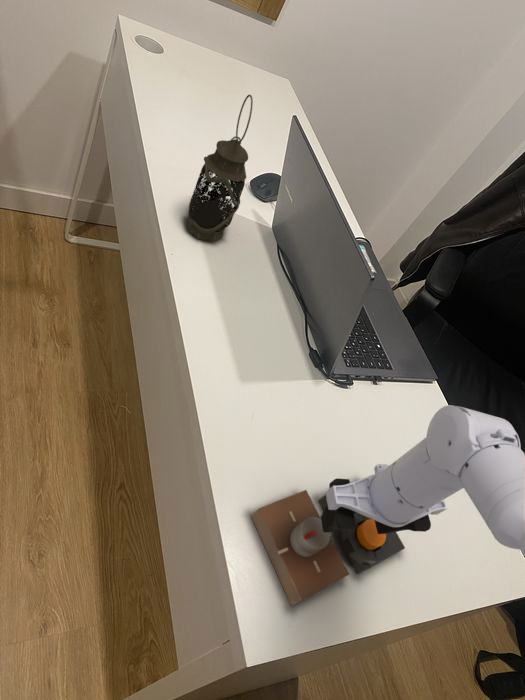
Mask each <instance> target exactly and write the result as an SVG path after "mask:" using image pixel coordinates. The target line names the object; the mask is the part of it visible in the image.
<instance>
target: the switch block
mask: <svg viewBox="0 0 525 700" xmlns="http://www.w3.org/2000/svg"><path fill="white" fill-rule="evenodd" d="M326 498H327V497H326V494H324V495H323V496H322V497H321V498H320V499H318V502H319V504H320V506H321V508H322V510H323V511H324V510H325V508H326V505H327V499H326ZM354 517H355V522H356V527H357V528H358V526H359V525H360V524H362V523H363V522H365V521H366V520H369V519H371V518H369V517H366V516H364V515H362V514H359V513H357V512H356V513H355V514H354ZM356 531H357V529H339V530H337V531H334V533H335V535H336V537H337V539H338V540H339V542H340V545H341V546H342V548H343V550H344V552H345V554H346V556H347V558H348V559H349V562H350V563H351V565H352V567H353V569H354V571H355V573H356V575H360V574H362V573H363V572H366V571H368V570H369V569H370V568H372V567H375V566H377V564H380V563H382V562H383V561H385V560H387V559H389V558H390V557H392V556H394V555H396V554H398V553H400V552H402V551H403V550H405V549H406V547H405V545H404V543H403V541H402V540H401V538H400V536H399V534H398V533H397V532H393V533H388V534H386V540H385V543H384V544H383V545H382V546H380V547H378V548H376V549H374V550H368V549H365V548H364V547H363V546H361V544H360V543H359V541H358V539H357V536H356Z"/></svg>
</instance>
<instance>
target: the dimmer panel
mask: <svg viewBox="0 0 525 700" xmlns="http://www.w3.org/2000/svg"><path fill="white" fill-rule="evenodd" d="M308 517H317V518H320V519H321V515H320V514H319V512H318V510H317V508H316V506H315V504H314V502H313V500H312V499H311V496H310V494H309V493H308V491H307V489H304V490H302V491H299V492H297V493H294V494H292V495H289V496H286V497H285V498H282V499H279V500H277V501H274V502H271V503H269V504H266V505H264V506H261V507H260V508H257V510H255V512H253V514H252V515H251V519H252V522H253V524H254V526H255V528H256V531H257V532H258V535H259V538H260V539H261V542H262V544H263V546H264V548H265V551H266V553H267V555H268V557H269V560H270V561H271V565H272V567H273V568H274V570H275V572H276V575H277V576H278V579H279V582H280V584H281V586H282V588H283V590H284V593H285V595H286V597H287V600H288V602H289V604H290V606H291V607H293V606H295V605H297V604H298V603H300V602H302V601H304V600H306V599H308V598H309V597H311V596H314V595H315V594H317V593H318V592H320V591H322V590H324V589H326V588H327V587H329V586H331V585H333V584H335V583H336V582H339V581H340V580H342V579H344V578H346V577H348V576H349V575H350V573H349V570H348V568H347V567H346V565H345V563H344V561H343V559H342V557H341V554H340V553H339V551H338V549H337V547H336V546H335V543H334V541H333V539H332V538H331V536H330V540H329V543H328V544H327V546H326V547H324V548H323V549H321V550H320V551H318V552H317V553H315V554H314V555H312V556H310V557H303V556H300V555H299V554H297V553H296V552H295V551H294V549H293V548H292V545H291V542H290V535H291V532H292V530H293V529H294V528H295V527H297V526H298V525H299V524H300V523H301V522H303V521H304V520H305V519H306V518H308Z"/></svg>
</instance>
